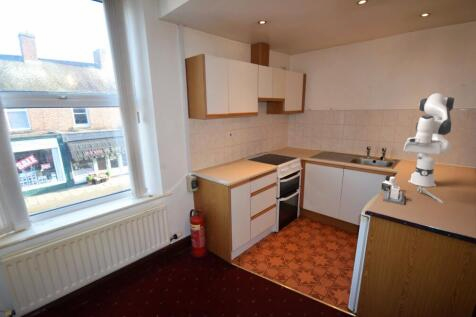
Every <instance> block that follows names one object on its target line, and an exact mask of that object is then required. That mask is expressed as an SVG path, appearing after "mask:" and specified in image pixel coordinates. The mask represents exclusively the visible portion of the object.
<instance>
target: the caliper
mask: <svg viewBox="0 0 476 317" xmlns="http://www.w3.org/2000/svg"><path fill="white" fill-rule="evenodd" d="M417 193H419V194H421V193H423V194H424V195H427V196H429V197H432V198H433V199H434V200H436V201H437V202H439V203H441V204H445V203H444V202H443V200H442V199H441V198H439V197H437V196H435V195H434V194H433V193H431V192H429V191H428V190H427V189H426V188H424V186H421V185H420V186H419V185H418V187H417Z"/></svg>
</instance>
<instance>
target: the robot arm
mask: <svg viewBox="0 0 476 317" xmlns="http://www.w3.org/2000/svg"><path fill="white" fill-rule="evenodd" d="M444 96H445V95H443V94H442V93H438V92H437V93H436V92H435V93H433V94H431V95H429V97H426V98H422V99H420V101H419V103H418V109H419V111H421V112H424V113H426V114H427V115H421V116H420V117H419V119H418V121H417V123H416V124H415V130H416V134H415V136H410V137H408V138H407V139H406V141H405V143H404V146H403V149H402V150H403V153H404V152H406V153H415V155H416V160H417V161H416V165H415V169H414V172H413V173H411V175H410V179H408V180H407V182H408V183H409V184H412V185H416V186H418V187H419V186H420V185H421V186H423V187H425V188H426V187H427V188H428V187H429V188H431V187H437V184H436V183H435V179H436V176H435V175H434V169H435V168H434V167H435V159H434V157H432V156H430V155H440V154H441V153H442V154H446V153H447V152H449V151H450V149H451V148H452V147H451V146H452V145H451V142H450V141H449V140H448V139H446V138H445V137H444V136H446V135H448V134H450V133H452V130H453V124H452V119H451V113H450V112H451V111H452V110H453V109H455V107H456V99H455V98H454V97H451V96H449V97H446V96H445V97H444Z"/></svg>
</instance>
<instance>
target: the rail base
mask: <svg viewBox="0 0 476 317" xmlns="http://www.w3.org/2000/svg"><path fill="white" fill-rule="evenodd" d="M387 192H388V191H384V194H383V198H382V201H383V202H388V203H391V202H392V204H396V205H400V206H401V205H402V206H404V205H405V194H403V193H402V199H401V202H399V198H400V193H399V194H398V199H394V198H390V194H391V192H389V196H388V200H387V199H386V197H387Z"/></svg>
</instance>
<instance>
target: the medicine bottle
mask: <svg viewBox="0 0 476 317" xmlns="http://www.w3.org/2000/svg"><path fill="white" fill-rule="evenodd" d="M392 185H394V186H398V183H396V177H395V176H393V175H386V176H385V181H382V182H381V188H380V190H381V191H383V192H385V191H388V189H390V191H389V192H391V188H392Z"/></svg>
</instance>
